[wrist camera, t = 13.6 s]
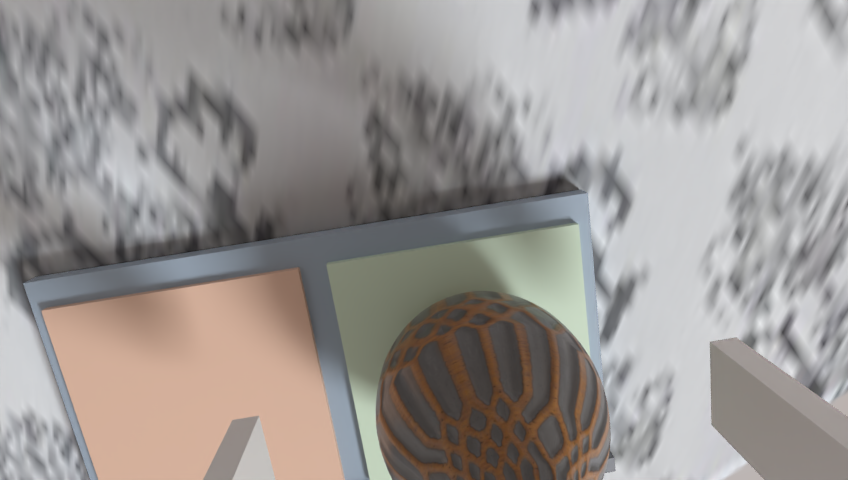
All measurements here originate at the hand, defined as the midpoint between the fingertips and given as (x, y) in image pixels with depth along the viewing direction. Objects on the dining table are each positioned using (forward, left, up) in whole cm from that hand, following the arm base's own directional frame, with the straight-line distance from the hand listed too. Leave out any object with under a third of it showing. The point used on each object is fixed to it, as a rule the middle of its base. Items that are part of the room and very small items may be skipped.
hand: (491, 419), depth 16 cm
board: (0, -5, -6) cm, 8 cm away
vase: (0, 0, -5) cm, 5 cm away
